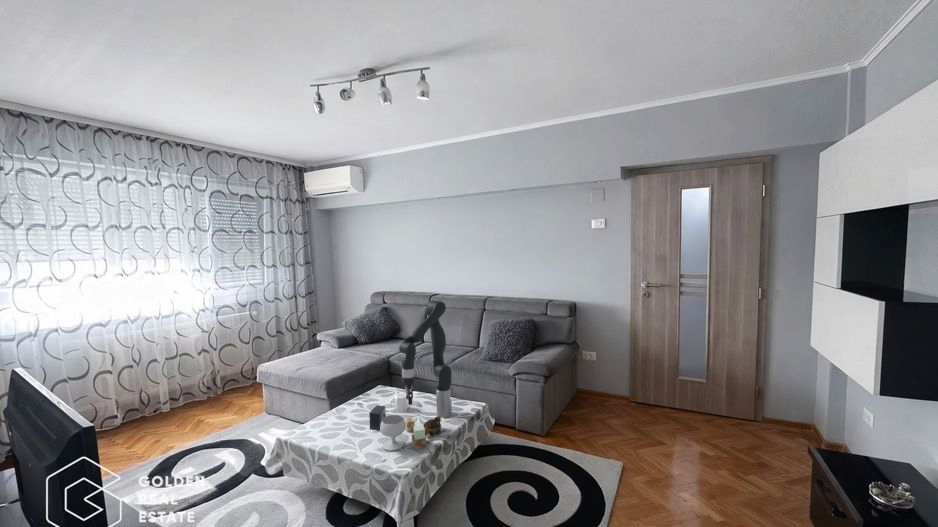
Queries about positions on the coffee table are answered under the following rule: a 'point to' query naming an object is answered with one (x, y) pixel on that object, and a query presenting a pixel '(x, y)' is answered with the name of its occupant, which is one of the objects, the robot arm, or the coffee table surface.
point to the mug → (400, 402)
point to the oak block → (409, 424)
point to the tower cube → (419, 432)
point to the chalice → (393, 431)
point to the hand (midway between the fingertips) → (409, 401)
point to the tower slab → (419, 442)
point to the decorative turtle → (432, 426)
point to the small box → (377, 417)
